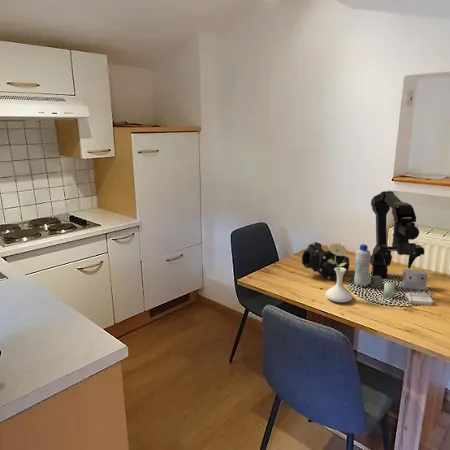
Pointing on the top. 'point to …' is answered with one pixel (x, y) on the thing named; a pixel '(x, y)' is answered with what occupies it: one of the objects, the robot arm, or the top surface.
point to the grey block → (376, 281)
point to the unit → (414, 279)
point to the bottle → (362, 266)
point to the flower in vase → (338, 276)
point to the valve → (323, 261)
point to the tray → (419, 299)
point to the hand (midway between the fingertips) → (397, 267)
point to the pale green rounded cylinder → (388, 290)
